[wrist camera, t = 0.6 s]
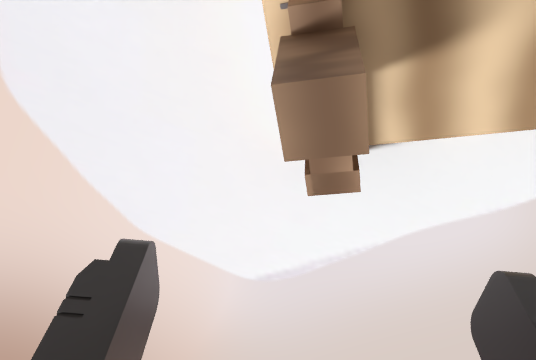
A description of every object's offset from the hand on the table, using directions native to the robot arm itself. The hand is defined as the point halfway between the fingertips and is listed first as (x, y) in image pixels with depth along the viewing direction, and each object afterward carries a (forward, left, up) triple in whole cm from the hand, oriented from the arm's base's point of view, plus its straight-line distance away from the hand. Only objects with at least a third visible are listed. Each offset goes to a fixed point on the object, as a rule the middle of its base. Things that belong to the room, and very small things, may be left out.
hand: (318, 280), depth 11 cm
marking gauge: (0, +4, -21) cm, 22 cm away
